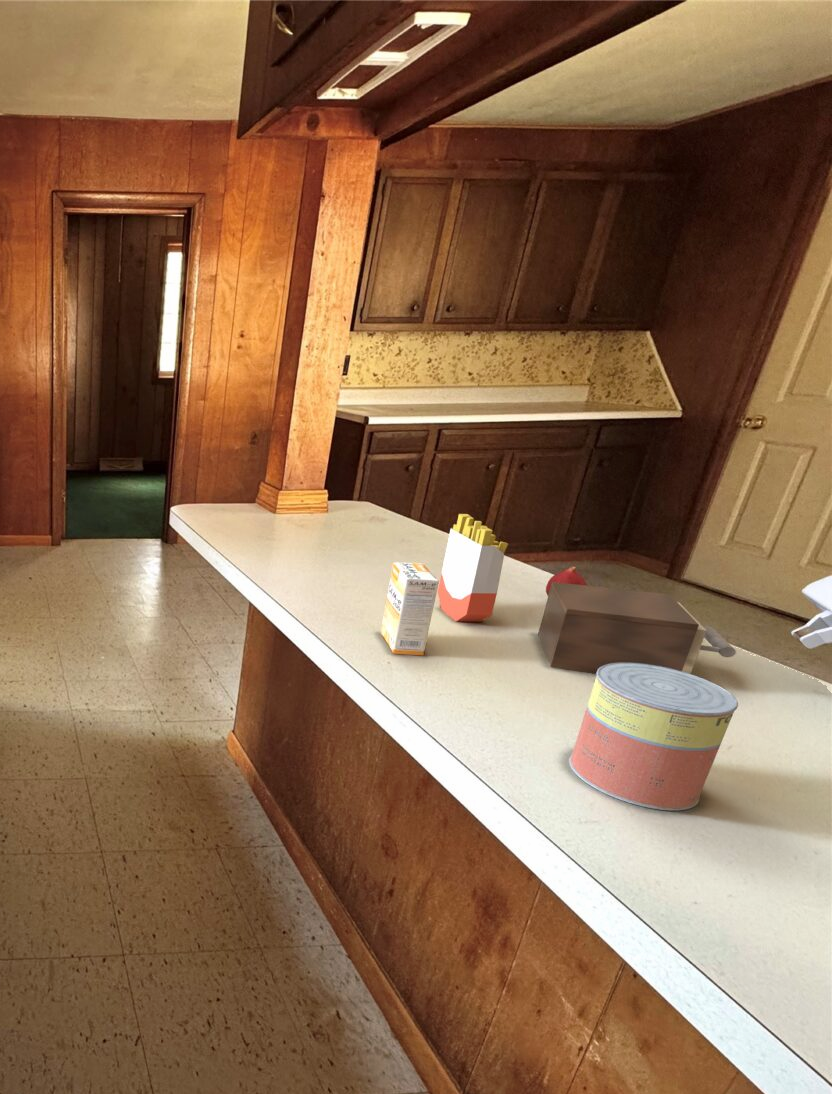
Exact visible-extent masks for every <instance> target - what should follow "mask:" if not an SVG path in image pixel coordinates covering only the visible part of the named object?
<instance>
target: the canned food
mask: <svg viewBox="0 0 832 1094" xmlns="http://www.w3.org/2000/svg"><path fill="white" fill-rule="evenodd" d="M738 708H739V702H738V699H737V698H736V697H735V696H734V695H733V694H732V693H731V692H730V691H728V690H727V689H725V688H723V687H722V686H721V685H718V684H716V683H715V682H712V681H710V680H707V679H705V678H703V677H701V676H698V675H694V674H692V673H691V674H688V673H685V672H682V671H678V670H674V669H670V668H666V667H661V666H655V665H649V664H641V663H611V664H607V665H604V666H601V667H600V668H599V669H598V670H597V674H596V677H595V681H594V684H593V686H592V690H591V693H590V696H589V699H588V703H587V705H586V709H585V712H584V715H583V718H582V721H581V725H580V727H579V731H578V734H577V738H576V741H575V743H574V746H573V749H572V753H571V754H570V756H569V759H568V764H569V767H570V768H571V771H573V773H574V774H575V776H578V778H580V779H581V781H583V782H584V783H586V784H587V785H589V786H590V787H592V788H594V789H596V790H598V791H599V792H601V793H603V794H605V795H607V796H609V797H612V798H614V799H617V800H620V801H622V802H625V803H628V804H631V805H636V806H638V807H643V808H647V809H653V810H659V811H671V812H673V811H684V810H690V809H691V808H694V807H695V806H696V805H698V803H699V801H700V799H701V797H700V795H701V793H702V791H703V788H704V787H705V783H706V781H707V779H708V776H709V774H710V772H711V770H712V766H713V764H714V762H715V759H716V757H717V755H718V752H719V749H720V746H721V745H722V742H723V739H724V737H725V735H726V732H727V730H728V728H729V725H730V724H731V720H732V718H733V716H734V713H735V711H736V710H737V709H738Z"/></svg>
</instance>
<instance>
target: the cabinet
mask: <svg viewBox="0 0 832 1094" xmlns="http://www.w3.org/2000/svg"><path fill="white" fill-rule="evenodd" d="M677 602H678V601H677V600H676V599H674V597H673V596H672V595H671V594H668V593H659V592H650V591H639V590H632V589H630V590H629V589H622V588H612V587H603V586H594V585H587V586H585V585H576V584H567V583H557V582H552V584H551V588H550V591H549V595H548V596H547V599H546V602H545V606H544V610H543V613H542V616H541V617H542V618H541V621H540V624H539V628H538V632H537V638H538V640H539V643H540V645H541V647H542V650H543V652H544V654H545V657H546V659H547V662H548V664H549V667H551V668H555V669H563V670H568V671H575V672H582V673H590V674H595V675H597V670H598V669H599V668H600V667H601V666H604V665H607V664H611V663H641V664H649V665H655V666H661V667H666V668H670V669H674V670H678V671H682V670H683V667H684V664H685V661H686V659H687V656H688V653H689V651H690V648H691V645H692V642H693V640H694V637H695V634H696V632H697V629H698V626H699V624H698V623H697V622H696V621H695V620H694V619H693V618H692V617H691V616H690V615H689V614H688V613H687V612H686V611H685V610H684V609H683V608H682V607H681V606H680V605H679V604H678V603H677Z"/></svg>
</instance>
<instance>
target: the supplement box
mask: <svg viewBox="0 0 832 1094" xmlns="http://www.w3.org/2000/svg"><path fill="white" fill-rule="evenodd" d="M439 583H440V579H438V578H437V577H436V576H435V575H434V574H433V573H432V571H430V569H428V567H426V565H425V564H424V563H422V562H421V563H420V562H404V561H403V562H399V561H397V562H392V567H391V573H390V578H389V584H388V590H387V595H386V601H385V607H384V611H383V617H382V624H381V629H380V634H381V636H382V637H383V638H384V640H385V641H386V643H387V645H388V646H389V649H390V651H391V652H392V654H394V655H410V656H424V655H425V649H426V645H427V640H428V635H429V630H430V625H431V621H432V616H433V611H434V607H435V602H436V598H437V594H438V588H439Z"/></svg>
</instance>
